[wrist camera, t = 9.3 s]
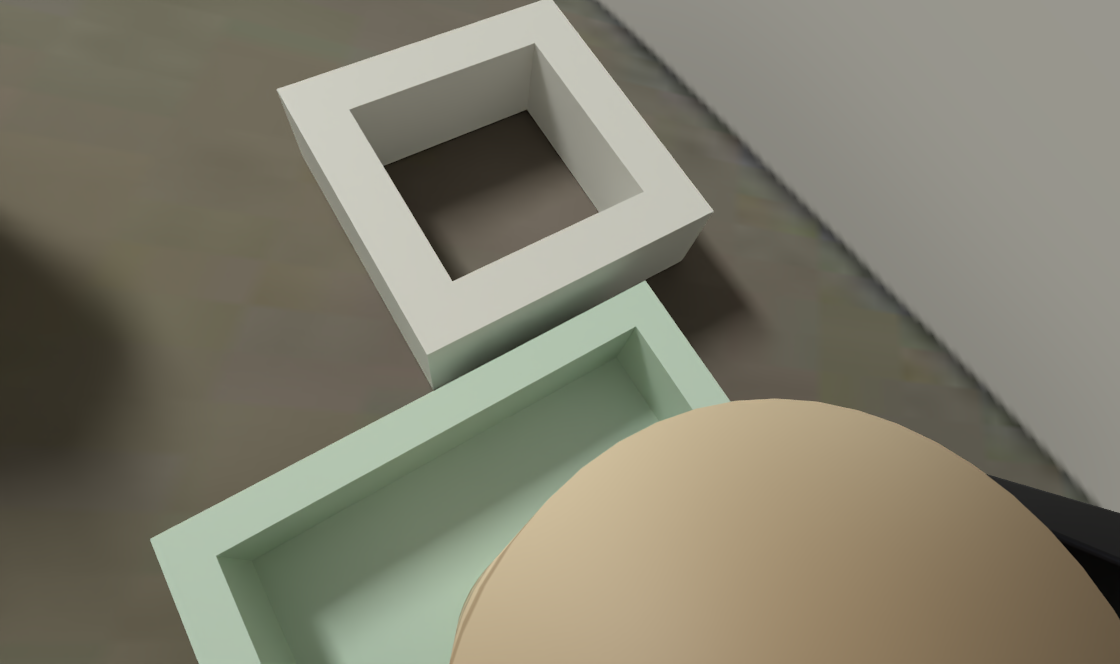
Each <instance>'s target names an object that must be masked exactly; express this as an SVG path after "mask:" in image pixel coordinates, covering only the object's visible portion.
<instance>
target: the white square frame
mask: <svg viewBox="0 0 1120 664" xmlns="http://www.w3.org/2000/svg"><path fill="white" fill-rule="evenodd" d="M277 92H278V94H279V97H280V99H281V102H282V105H283V107H284V110H285V112H286V115H287V118H288V120H289V123H290V125H291V128H292V131H293V133H294V136H295V138H296V141H297V143H298V146H299V149H300V151H301V154H302V156H303V158H304V160H305V162H306V163H307V165H308V167H309V169H310V170H311V172H312V174H313V176H314V178H315V179H316V181H317V183H318V185H319V187H320V188H321V190H322V192H323V194H324V195H325V197H326V199H327V201H328V203H329V204H330V206H331V208H332V210H333V212H334V213H335V215H336V217H337V219H338V220H339V222H340V224H341V226H342V228H343V229H344V231H345V233H346V235H347V237H348V238H349V240H350V242H351V244H352V246H353V247H354V249H355V251H356V253H357V254H358V256H359V258H360V260H361V262H362V263H363V265H364V267H365V269H366V271H367V272H368V274H369V276H370V278H371V279H372V281H373V283H374V285H375V287H376V288H377V290H378V292H379V294H380V296H381V297H382V299H383V301H384V303H385V304H386V306H387V308H388V310H389V312H390V313H391V315H392V317H393V319H394V321H395V322H396V324H397V326H398V328H399V329H400V331H401V333H402V335H403V337H404V338H405V340H406V342H407V344H408V346H409V347H410V349H411V351H412V353H413V354H414V356H415V358H416V360H417V362H418V363H419V365H420V367H421V369H422V371H423V372H424V374H425V376H426V378H427V379H428V381H429V383H430V385H431V387H432V388H433V390H435V389H437V388H439V387H441V386H443V385H445V384H447V383H448V382H450V381H452V380H454V379H456V378H458V377H460V376H462V375H464V374H466V373H468V372H470V371H471V370H473V369H475V368H477V367H479V366H481V365H483V364H485V363H487V362H489V361H491V360H493V359H494V358H496V357H498V356H500V355H502V354H504V353H506V352H508V351H510V350H512V349H514V348H515V347H517V346H519V345H521V344H523V343H525V342H527V341H529V340H531V339H533V338H535V337H537V336H538V335H540V334H542V333H544V332H546V331H548V330H550V329H552V328H554V327H556V326H558V325H560V324H561V323H563V322H565V321H567V320H569V319H571V318H573V317H575V316H577V315H579V314H581V313H583V312H584V311H586V310H588V309H590V308H592V307H594V306H596V305H598V304H600V303H602V302H604V301H606V300H607V299H609V298H611V297H613V296H615V295H617V294H619V293H621V292H623V291H625V290H627V289H629V288H630V287H632V286H634V285H636V284H638V283H640V282H642V281H644V280H646V279H648V278H650V277H652V276H653V275H655V274H657V273H659V272H661V271H663V270H665V269H667V268H669V267H671V266H673V265H675V264H676V263H678V262H680V261H682V260H683V258H684V257H685V255H686V254H687V252H688V251H689V249H690V247H691V246H692V244H693V243H694V241H695V240H696V238H697V237H698V235H699V233H700V232H701V230H702V229H703V227H704V226H705V224H706V222H707V221H708V219H709V218H710V216H711V215H712V213H713V212H714V211H713V210H712V208H711V207H710V206H709V204H708V203H707V202H706V200H705V199H704V198H703V197H702V195H701V194H700V193H699V191H698V190H697V189H696V187H695V186H694V185H693V183H692V182H691V181H690V180H689V178H688V177H687V176H686V174H685V173H684V172H683V170H682V169H681V168H680V166H679V165H678V164H677V162H676V161H675V160H674V159H673V157H672V156H671V155H670V153H669V152H668V151H667V149H666V148H665V147H664V145H663V144H662V143H661V142H660V140H659V139H658V138H657V136H656V135H655V134H654V132H653V131H652V130H651V128H650V127H649V126H648V125H647V123H646V122H645V121H644V119H643V118H642V117H641V115H640V114H639V113H638V111H637V110H636V109H635V107H634V106H633V105H632V104H631V102H630V101H629V100H628V98H627V97H626V96H625V94H624V93H623V92H622V90H621V89H620V88H619V87H618V85H617V84H616V83H615V81H614V80H613V79H612V77H611V76H610V75H609V73H608V72H607V71H606V69H605V68H604V67H603V66H602V64H601V63H600V62H599V60H598V59H597V58H596V56H595V55H594V54H593V52H592V51H591V50H590V49H589V47H588V46H587V45H586V43H585V42H584V41H583V39H582V38H581V37H580V35H579V34H578V33H577V32H576V30H575V29H574V28H573V26H572V25H571V24H570V22H569V21H568V20H567V18H566V17H565V16H564V14H563V13H562V12H561V11H560V9H559V8H558V7H557V5H556V4H555V3H554V1H553V0H541V1H538V2H535V3H532V4H529V5H526V6H523V7H520V8H517V9H514V10H511V11H508V12H505V13H502V14H500V15H497V16H494V17H491V18H488V19H485V20H482V21H479V22H476V23H473V24H470V25H467V26H464V27H461V28H458V29H455V30H452V31H449V32H446V33H443V34H440V35H437V36H434V37H431V38H428V39H425V40H422V41H419V42H416V43H413V44H410V45H407V46H404V47H401V48H398V49H395V50H392V51H389V52H386V53H383V54H380V55H377V56H374V57H371V58H368V59H365V60H362V61H359V62H356V63H353V64H350V65H347V66H345V67H342V68H339V69H336V70H333V71H330V72H327V73H324V74H321V75H318V76H315V77H312V78H309V79H306V80H303V81H300V82H297V83H294V84H291V85H288V86H285V87H282V88H279V89H277ZM524 110H528V112H529V113H530V115H531V116H532V117H533V119H534V120H535V122H536V123H537V125H538V126H539V127H540V129H541V130H542V132H543V133H544V135H545V136H546V137H547V139H548V140H549V142H550V143H551V145H552V146H553V147H554V149H555V150H556V152H557V153H558V155H559V156H560V157H561V159H562V160H563V162H564V163H565V165H566V166H567V167H568V169H569V170H570V172H571V173H572V175H573V176H574V177H575V179H576V180H577V182H578V183H579V184H580V186H581V187H582V189H583V190H584V192H585V193H586V194H587V196H588V197H589V199H590V200H591V202H592V203H593V204H594V206H595V207H596V209H597V210H598V212H599V213H597V214H595V215H593V216H591V217H589V218H587V219H584V220H582V221H580V222H578V223H576V224H574V225H572V226H570V227H567V228H565V229H563V230H561V231H559V232H557V233H555V234H553V235H550V236H548V237H546V238H544V239H542V240H540V241H538V242H535V243H533V244H531V245H529V246H527V247H525V248H523V249H521V250H518V251H516V252H514V253H512V254H510V255H508V256H506V257H504V258H501V259H499V260H497V261H495V262H493V263H491V264H489V265H486V266H484V267H482V268H480V269H478V270H476V271H474V272H472V273H469V274H467V275H465V276H463V277H461V278H459V279H457V280H454V281H452V280H451V278H450V277H449V275H448V273H447V272H446V270H445V268H444V267H443V265H442V263H441V262H440V260H439V258H438V257H437V255H436V253H435V252H434V250H433V248H432V247H431V245H430V243H429V242H428V240H427V238H426V237H425V235H424V233H423V232H422V230H421V228H420V227H419V225H418V223H417V222H416V220H415V218H414V217H413V215H412V213H411V212H410V210H409V208H408V207H407V205H406V203H405V202H404V200H403V198H402V197H401V195H400V193H399V192H398V190H397V188H396V187H395V185H394V183H393V182H392V180H391V178H390V177H389V175H388V173H387V172H386V170H385V168H384V167H383V166H384V165H387V164H390V163H392V162H395V161H397V160H400V159H402V158H405V157H407V156H410V155H412V154H415V153H418V152H420V151H423V150H425V149H428V148H430V147H433V146H435V145H438V144H440V143H443V142H445V141H448V140H451V139H453V138H456V137H458V136H461V135H463V134H466V133H468V132H471V131H473V130H476V129H479V128H481V127H484V126H486V125H489V124H491V123H494V122H496V121H499V120H501V119H504V118H507V117H509V116H512V115H514V114H517V113H519V112H522V111H524Z"/></svg>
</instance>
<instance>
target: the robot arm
mask: <svg viewBox="0 0 1120 664" xmlns="http://www.w3.org/2000/svg"><path fill="white" fill-rule="evenodd" d="M986 475H987V476H989V477H990V478H991V479H993V480H994V481H995V482H996V483H998V484H999V485H1000V486H1002V487H1003V488H1004V489H1006V490H1007V491H1008V492H1009V493H1011V494H1012V495H1013V496H1014V497H1015V498H1016V499H1018V500H1019V501H1020V502H1021V503H1022V504H1023V505H1024V506H1025V507H1026V508H1027V509H1028V510H1029V511H1030V512H1031V513H1032V514H1034V515H1035V516H1036V517H1037V518H1038V519H1039V520H1040V521H1041V522H1042V523H1043V524H1044V525H1045V526H1046V527H1047V528H1048V529H1049V530H1050V531H1051V532H1052V533H1053V534H1054V535H1055V537H1056V538H1057V539H1058V540H1059V541H1060V542H1061V543H1062V544H1063V546H1064V547H1065V548H1066V549H1067V550H1068V551H1069V552H1070V554H1071V555H1072V556H1073V557H1074V558H1075V559H1076V560H1077V561H1078V563H1079V564H1080V565H1081V566H1082V567H1083V569H1084V570H1085V571H1086V573H1087V574H1088V575H1089V577H1090V578H1091V579H1092V581H1093V582H1094V584H1095V585H1096V586H1097V588H1098V589H1099V590H1100V592H1101V593H1102V594H1103V596H1104V597H1105V598H1106V600H1107V601H1108V603H1109V604H1110V605H1111V607H1112V608H1113V609H1114V611H1115V613H1116V614H1117V616H1118V618H1119V619H1120V513H1117V512H1114V511H1111V510H1107V509H1104V508H1101V507H1097V506H1094V505H1090V504H1087V503H1083V502H1080V501H1077V500H1073V499H1070V498H1066V497H1063V496H1059V495H1056V494H1053V493H1049V492H1046V491H1042V490H1039V489H1035V488H1032V487H1029V486H1025V485H1022V484H1018V483H1015V482H1012V481H1008V480H1005V479H1001V478H998V477H994V476H991V475H988V474H986Z"/></svg>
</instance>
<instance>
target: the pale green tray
mask: <svg viewBox="0 0 1120 664" xmlns="http://www.w3.org/2000/svg"><path fill="white" fill-rule="evenodd" d="M728 402H730V400H729V399H728V398H727V396H726V395H725V393H724V392H723V390H722V389H721V388H720V386H719V385H718V383H717V382H716V380H715V379H714V378H713V376H712V375H711V373H710V372H709V370H708V369H707V368H706V366H705V365H704V363H703V362H702V360H701V359H700V358H699V356H698V355H697V353H696V352H695V350H694V349H693V348H692V346H691V345H690V343H689V342H688V340H687V339H686V338H685V336H684V335H683V333H682V332H681V331H680V329H679V328H678V326H677V325H676V323H675V322H674V321H673V319H672V318H671V316H670V315H669V313H668V312H667V311H666V309H665V308H664V306H663V305H662V303H661V302H660V301H659V299H658V298H657V296H656V295H655V293H654V292H653V291H652V289H651V288H650V286H649V285H648V283H647V282H646V281H643V282H641V283H639V284H638V285H636V286H634V287H632V288H630V289H628V290H626V291H624V292H622V293H620V294H618V295H616V296H615V297H613V298H611V299H609V300H607V301H605V302H603V303H601V304H599V305H597V306H595V307H593V308H592V309H590V310H588V311H586V312H584V313H582V314H580V315H578V316H576V317H574V318H572V319H571V320H569V321H567V322H565V323H563V324H561V325H559V326H557V327H555V328H553V329H551V330H549V331H548V332H546V333H544V334H542V335H540V336H538V337H536V338H534V339H532V340H530V341H528V342H526V343H525V344H523V345H521V346H519V347H517V348H515V349H513V350H511V351H509V352H507V353H505V354H504V355H502V356H500V357H498V358H496V359H494V360H492V361H490V362H488V363H486V364H484V365H482V366H481V367H479V368H477V369H475V370H473V371H471V372H469V373H467V374H465V375H463V376H461V377H459V378H458V379H456V380H454V381H452V382H450V383H448V384H446V385H444V386H442V387H440V388H438V389H436V390H435V391H433V392H431V393H429V394H427V395H425V396H423V397H421V398H419V399H417V400H415V401H414V402H412V403H410V404H408V405H406V406H404V407H402V408H400V409H398V410H396V411H394V412H392V413H391V414H389V415H387V416H385V417H383V418H381V419H379V420H377V421H375V422H373V423H371V424H369V425H368V426H366V427H364V428H362V429H360V430H358V431H356V432H354V433H352V434H350V435H348V436H346V437H345V438H343V439H341V440H339V441H337V442H335V443H333V444H331V445H329V446H327V447H325V448H324V449H322V450H320V451H318V452H316V453H314V454H312V455H310V456H308V457H306V458H304V459H302V460H301V461H299V462H297V463H295V464H293V465H291V466H289V467H287V468H285V469H283V470H281V471H279V472H278V473H276V474H274V475H272V476H270V477H268V478H266V479H264V480H262V481H260V482H258V483H257V484H255V485H253V486H251V487H249V488H247V489H245V490H243V491H241V492H239V493H237V494H235V495H234V496H232V497H230V498H228V499H226V500H224V501H222V502H220V503H218V504H216V505H214V506H212V507H211V508H209V509H207V510H205V511H203V512H201V513H199V514H197V515H195V516H193V517H191V518H189V519H188V520H186V521H184V522H182V523H180V524H178V525H176V526H174V527H172V528H170V529H168V530H167V531H165V532H163V533H161V534H159V535H157V536H155V537H153V538H151V539H150V540H151V543H152V546H153V548H154V551H155V553H156V556H157V558H158V561H159V563H160V566H161V568H162V571H163V574H164V576H165V579H166V581H167V584H168V586H169V589H170V591H171V594H172V597H173V599H174V602H175V604H176V607H177V609H178V612H179V614H180V617H181V619H182V622H183V625H184V627H185V630H186V632H187V635H188V637H189V640H190V642H191V645H192V647H193V650H194V653H195V655H196V658H197V660H198V663H199V664H449V663H450V658H451V653H452V648H453V644H454V639H455V634H456V629H457V624H458V619H459V616H460V613H461V610H462V607H463V604H464V602H465V600H466V598H467V596H468V594H469V592H470V590H471V588H472V587H473V585H474V584H475V582H476V581H477V579H478V578H479V577H480V576H481V574H482V573H483V572H484V571H485V569H486V568H487V567H488V566H489V565H490V564H491V563H492V562H493V560H494V559H495V558H496V557H497V556H498V555H499V554H500V553H501V552H502V550H503V549H504V548H505V547H506V546H507V545H508V544H509V543H510V541H511V540H512V539H513V538H514V537H515V536H516V535H517V534H518V532H519V531H520V530H521V529H522V528H523V527H524V526H525V525H526V524H527V522H528V521H529V520H530V519H531V518H532V517H533V516H534V515H535V513H536V512H537V511H538V510H539V509H540V508H541V507H542V506H543V505H544V503H545V502H546V501H547V500H548V499H549V498H550V497H551V496H552V495H553V494H555V493H556V492H557V491H558V490H559V489H560V488H561V487H562V486H563V485H564V484H565V483H566V482H567V481H568V480H569V479H571V478H572V477H573V476H574V475H575V474H576V473H577V472H578V471H579V470H580V469H581V468H582V467H584V466H585V465H587V464H588V463H590V462H591V461H592V460H594V459H595V458H597V457H598V456H599V455H601V454H602V453H604V452H605V451H606V450H608V449H609V448H611V447H612V446H614V445H615V444H616V443H618V442H620V441H621V440H623V439H625V438H627V437H629V436H631V435H633V434H635V433H637V432H639V431H641V430H643V429H645V428H647V427H649V426H651V425H653V424H654V423H656V422H659V421H662V420H665V419H668V418H671V417H674V416H676V415H679V414H682V413H685V412H688V411H691V410H694V409H697V408H702V407H707V406H712V405H717V404H723V403H728Z"/></svg>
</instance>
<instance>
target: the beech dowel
mask: <svg viewBox="0 0 1120 664" xmlns="http://www.w3.org/2000/svg"><path fill="white" fill-rule="evenodd" d="M449 664H1120V619H1119V618H1118V616H1117V614H1116V613H1115V611H1114V609H1113V608H1112V607H1111V605H1110V604H1109V603H1108V601H1107V600H1106V598H1105V597H1104V596H1103V594H1102V593H1101V592H1100V590H1099V589H1098V588H1097V586H1096V585H1095V584H1094V582H1093V581H1092V579H1091V578H1090V577H1089V575H1088V574H1087V573H1086V571H1085V570H1084V569H1083V567H1082V566H1081V565H1080V564H1079V563H1078V561H1077V560H1076V559H1075V558H1074V557H1073V556H1072V555H1071V554H1070V552H1069V551H1068V550H1067V549H1066V548H1065V547H1064V546H1063V544H1062V543H1061V542H1060V541H1059V540H1058V539H1057V538H1056V537H1055V535H1054V534H1053V533H1052V532H1051V531H1050V530H1049V529H1048V528H1047V527H1046V526H1045V525H1044V524H1043V523H1042V522H1041V521H1040V520H1039V519H1038V518H1037V517H1036V516H1035V515H1034V514H1032V513H1031V512H1030V511H1029V510H1028V509H1027V508H1026V507H1025V506H1024V505H1023V504H1022V503H1021V502H1020V501H1019V500H1018V499H1016V498H1015V497H1014V496H1013V495H1012V494H1011V493H1009V492H1008V491H1007V490H1006V489H1004V488H1003V487H1002V486H1000V485H999V484H998V483H996V482H995V481H994V480H993V479H991V478H990V477H989V476H987V475H986V474H985V473H983V472H982V471H981V470H980V469H978V468H977V467H976V466H974V465H973V464H971V463H969V462H968V461H966V460H964V459H963V458H961V457H960V456H958V455H956V454H955V453H953V452H951V451H950V450H948V449H947V448H945V447H943V446H942V445H940V444H938V443H937V442H935V441H933V440H930V439H928V438H926V437H924V436H922V435H920V434H918V433H916V432H914V431H912V430H909V429H907V428H905V427H903V426H901V425H899V424H896V423H894V422H891V421H888V420H885V419H882V418H879V417H876V416H873V415H870V414H867V413H864V412H861V411H858V410H854V409H849V408H844V407H840V406H835V405H830V404H825V403H821V402H813V401H801V400H788V399H760V400H742V401H733V402H728V403H723V404H717V405H712V406H707V407H702V408H697V409H694V410H691V411H688V412H685V413H682V414H679V415H676V416H674V417H671V418H668V419H665V420H662V421H659V422H656V423H654V424H653V425H651V426H649V427H647V428H645V429H643V430H641V431H639V432H637V433H635V434H633V435H631V436H629V437H627V438H625V439H623V440H621V441H620V442H618V443H616V444H615V445H614V446H612V447H611V448H609V449H608V450H606V451H605V452H604V453H602V454H601V455H599V456H598V457H597V458H595V459H594V460H592V461H591V462H590V463H588V464H587V465H585V466H584V467H582V468H581V469H580V470H579V471H578V472H577V473H576V474H575V475H574V476H573V477H572V478H571V479H569V480H568V481H567V482H566V483H565V484H564V485H563V486H562V487H561V488H560V489H559V490H558V491H557V492H556V493H555V494H553V495H552V496H551V497H550V498H549V499H548V500H547V501H546V502H545V503H544V505H543V506H542V507H541V508H540V509H539V510H538V511H537V512H536V513H535V515H534V516H533V517H532V518H531V519H530V520H529V521H528V522H527V524H526V525H525V526H524V527H523V528H522V529H521V530H520V531H519V532H518V534H517V535H516V536H515V537H514V538H513V539H512V540H511V541H510V543H509V544H508V545H507V546H506V547H505V548H504V549H503V550H502V552H501V553H500V554H499V555H498V556H497V557H496V558H495V559H494V560H493V562H492V563H491V564H490V565H489V566H488V567H487V568H486V569H485V571H484V572H483V573H482V574H481V576H480V577H479V578H478V579H477V581H476V582H475V584H474V585H473V587H472V588H471V590H470V592H469V594H468V596H467V598H466V600H465V602H464V604H463V607H462V610H461V613H460V616H459V619H458V624H457V629H456V634H455V639H454V644H453V648H452V653H451V658H450V663H449Z"/></svg>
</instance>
